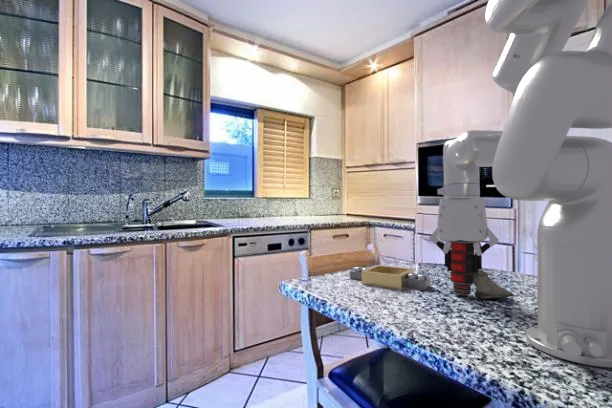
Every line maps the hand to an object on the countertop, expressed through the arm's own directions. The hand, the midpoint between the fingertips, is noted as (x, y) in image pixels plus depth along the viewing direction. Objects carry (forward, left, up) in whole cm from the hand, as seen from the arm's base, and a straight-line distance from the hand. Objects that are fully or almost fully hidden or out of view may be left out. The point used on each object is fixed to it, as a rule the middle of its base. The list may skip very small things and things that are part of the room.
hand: (463, 270), depth 76 cm
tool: (+11, -6, -6) cm, 14 cm away
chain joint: (+1, +18, -6) cm, 19 cm away
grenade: (0, +1, -5) cm, 5 cm away
